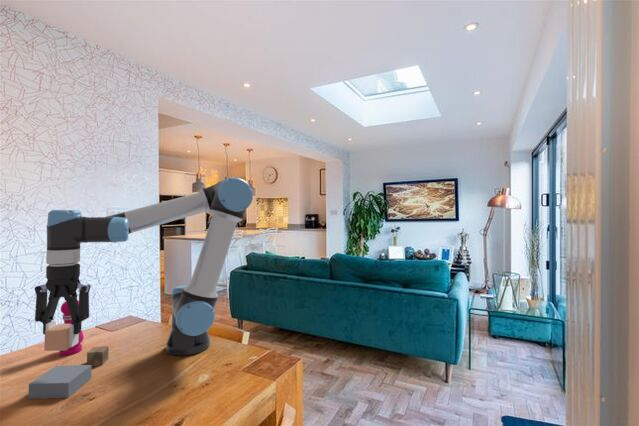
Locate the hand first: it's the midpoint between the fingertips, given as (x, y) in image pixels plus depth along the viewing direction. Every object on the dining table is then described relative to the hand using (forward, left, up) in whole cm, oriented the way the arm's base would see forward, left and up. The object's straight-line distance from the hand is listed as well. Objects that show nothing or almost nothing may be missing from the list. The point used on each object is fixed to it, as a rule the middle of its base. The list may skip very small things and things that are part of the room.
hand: (62, 345), depth 91 cm
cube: (0, 0, 0) cm, 0 cm away
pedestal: (0, 0, -12) cm, 12 cm away
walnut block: (+1, -15, -10) cm, 18 cm away
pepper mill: (+13, -24, -12) cm, 30 cm away
